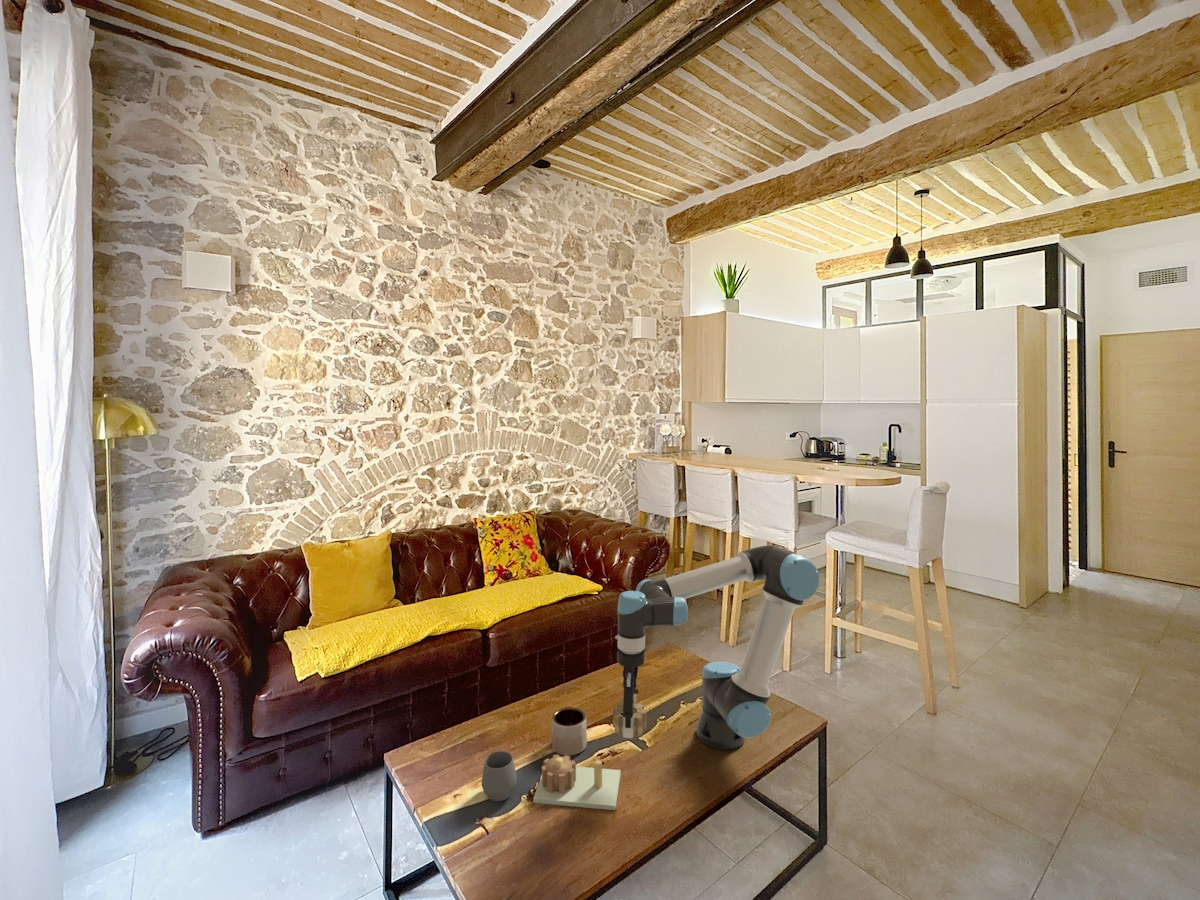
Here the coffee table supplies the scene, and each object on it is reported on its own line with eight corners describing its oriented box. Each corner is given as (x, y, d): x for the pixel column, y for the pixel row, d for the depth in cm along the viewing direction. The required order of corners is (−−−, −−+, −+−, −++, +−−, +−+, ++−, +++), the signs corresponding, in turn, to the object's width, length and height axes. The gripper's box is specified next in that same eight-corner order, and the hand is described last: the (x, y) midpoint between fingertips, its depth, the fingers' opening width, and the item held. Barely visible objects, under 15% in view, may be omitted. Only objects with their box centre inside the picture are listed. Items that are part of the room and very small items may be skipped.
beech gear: (646, 719, 156) (647, 702, 155) (644, 738, 146) (645, 721, 146) (614, 716, 157) (615, 699, 156) (611, 735, 148) (611, 717, 147)
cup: (500, 812, 142) (499, 775, 141) (474, 798, 147) (473, 763, 146) (524, 790, 150) (523, 755, 149) (498, 778, 155) (497, 744, 154)
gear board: (620, 774, 156) (620, 748, 155) (615, 810, 142) (615, 782, 141) (545, 767, 159) (545, 742, 158) (533, 802, 145) (532, 775, 144)
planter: (582, 759, 163) (582, 728, 162) (547, 754, 165) (547, 724, 164) (590, 737, 173) (590, 708, 172) (557, 733, 175) (556, 705, 175)
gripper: (621, 631, 161) (620, 704, 163) (612, 666, 139) (611, 749, 141) (646, 633, 160) (645, 706, 162) (642, 668, 138) (640, 752, 140)
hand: (629, 726), depth 152 cm, fingers closed on beech gear, 9 cm apart
